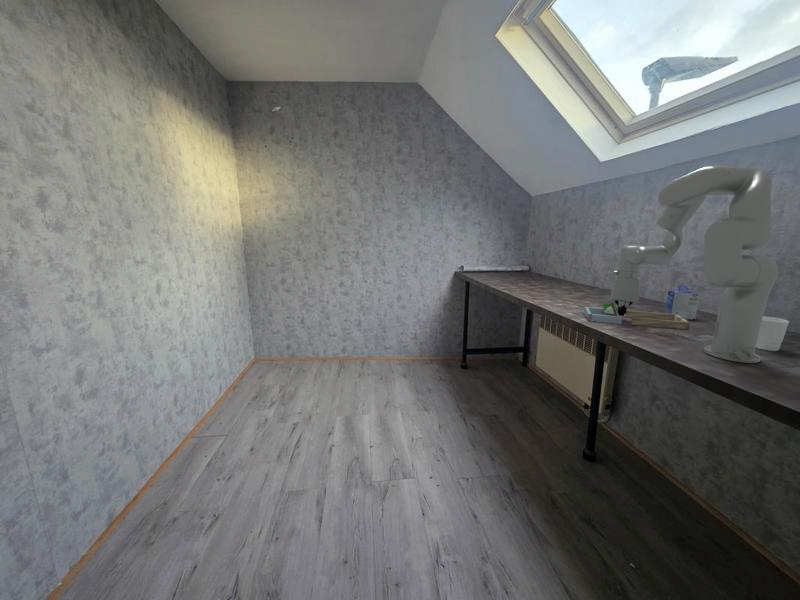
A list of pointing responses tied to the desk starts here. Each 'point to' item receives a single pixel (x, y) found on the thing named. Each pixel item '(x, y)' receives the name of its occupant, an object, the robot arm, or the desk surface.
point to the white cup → (771, 333)
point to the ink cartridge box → (682, 303)
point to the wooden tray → (658, 320)
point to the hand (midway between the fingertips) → (621, 315)
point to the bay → (601, 316)
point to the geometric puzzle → (610, 309)
